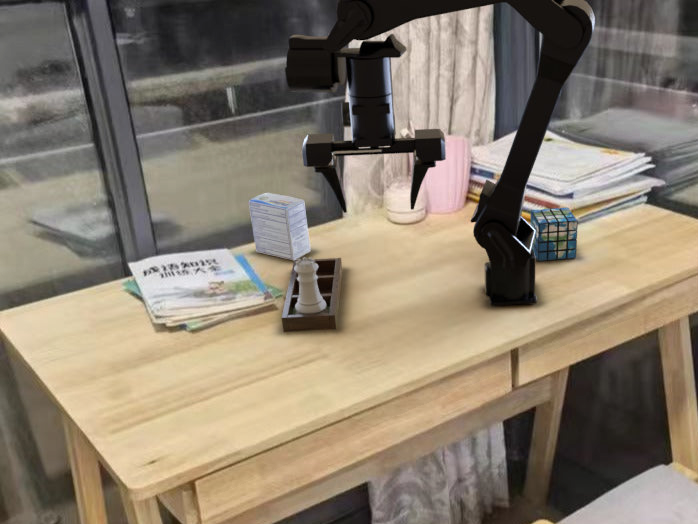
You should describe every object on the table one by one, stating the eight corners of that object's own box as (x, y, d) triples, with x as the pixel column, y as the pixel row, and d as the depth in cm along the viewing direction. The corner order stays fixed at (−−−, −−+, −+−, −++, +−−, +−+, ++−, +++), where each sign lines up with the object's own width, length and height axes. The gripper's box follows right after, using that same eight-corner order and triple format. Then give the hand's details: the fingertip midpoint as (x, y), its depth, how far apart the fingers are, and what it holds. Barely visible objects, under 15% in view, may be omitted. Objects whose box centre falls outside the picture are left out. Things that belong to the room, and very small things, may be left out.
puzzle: (576, 258, 144) (578, 220, 141) (537, 261, 144) (538, 223, 141) (566, 243, 149) (568, 206, 146) (529, 246, 149) (530, 209, 145)
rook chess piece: (335, 314, 130) (329, 259, 125) (310, 325, 127) (303, 270, 122) (313, 305, 132) (307, 251, 128) (288, 316, 130) (281, 261, 125)
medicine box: (311, 252, 150) (305, 199, 145) (293, 262, 147) (286, 208, 142) (273, 243, 153) (266, 191, 149) (255, 252, 150) (247, 199, 145)
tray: (342, 270, 143) (341, 257, 142) (336, 329, 127) (334, 315, 126) (295, 272, 143) (294, 259, 142) (283, 332, 127) (281, 317, 126)
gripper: (440, 75, 128) (443, 187, 137) (302, 81, 128) (315, 193, 137) (444, 95, 119) (447, 214, 128) (295, 101, 119) (309, 221, 127)
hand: (378, 210), depth 130 cm, fingers open, 9 cm apart
